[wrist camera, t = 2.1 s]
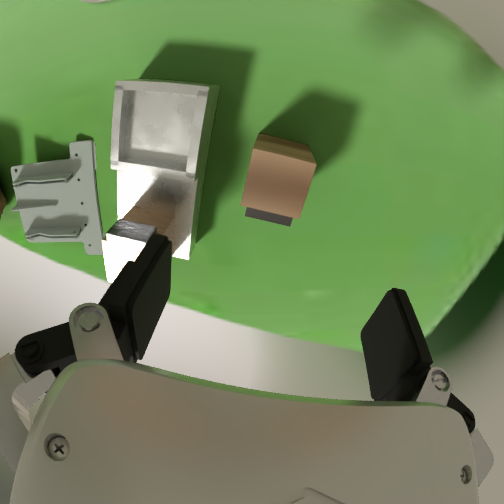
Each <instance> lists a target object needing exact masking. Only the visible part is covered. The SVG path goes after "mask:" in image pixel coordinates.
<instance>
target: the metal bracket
mask: <svg viewBox="0 0 504 504" xmlns="http://www.w3.org/2000/svg"><path fill="white" fill-rule="evenodd" d="M69 148H70V158H69V159H63V160H54V161H45V162H38V163H31V164H24V165H18V166H13V167H11V175H12V180H13V183H12V184H13V185H14V186H13V188H14V190H15V195H16V200H17V205H16V206H15V207H14V208H13V209H12V211H19V212H20V216H21V220H22V224H23V227H24V231H25V236H26V239H27V240H28V242H83V243H84V246H85V251H86V253H87V254H88V255H104V253H103V245H102V240H103V238H104V232H103V230H102V225H101V219H100V212H99V204H98V196H97V187H96V176H95V169H96V152H95V143H94V141H93V140H84V141H74V142H71V143H70V145H69ZM76 153H77V154H78V156H76V155H75V154H76ZM15 169H17V172H16V171H15ZM78 178H79V179H80V181H79V180H78ZM81 202H83V204H81ZM85 224H87V226H86V225H85ZM32 239H33V240H32ZM89 244H91V246H90V245H89Z"/></svg>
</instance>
